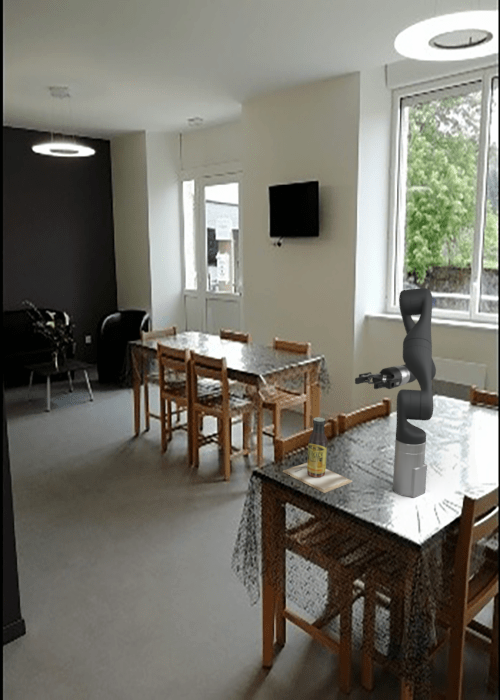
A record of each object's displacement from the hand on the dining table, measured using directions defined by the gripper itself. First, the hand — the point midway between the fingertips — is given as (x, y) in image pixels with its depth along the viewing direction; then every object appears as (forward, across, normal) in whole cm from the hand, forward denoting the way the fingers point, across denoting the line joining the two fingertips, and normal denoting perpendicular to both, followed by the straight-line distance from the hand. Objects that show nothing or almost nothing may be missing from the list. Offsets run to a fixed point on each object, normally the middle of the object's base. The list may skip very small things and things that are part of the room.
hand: (365, 383), depth 195 cm
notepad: (+21, -1, +29) cm, 36 cm away
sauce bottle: (+21, -2, +29) cm, 36 cm away
